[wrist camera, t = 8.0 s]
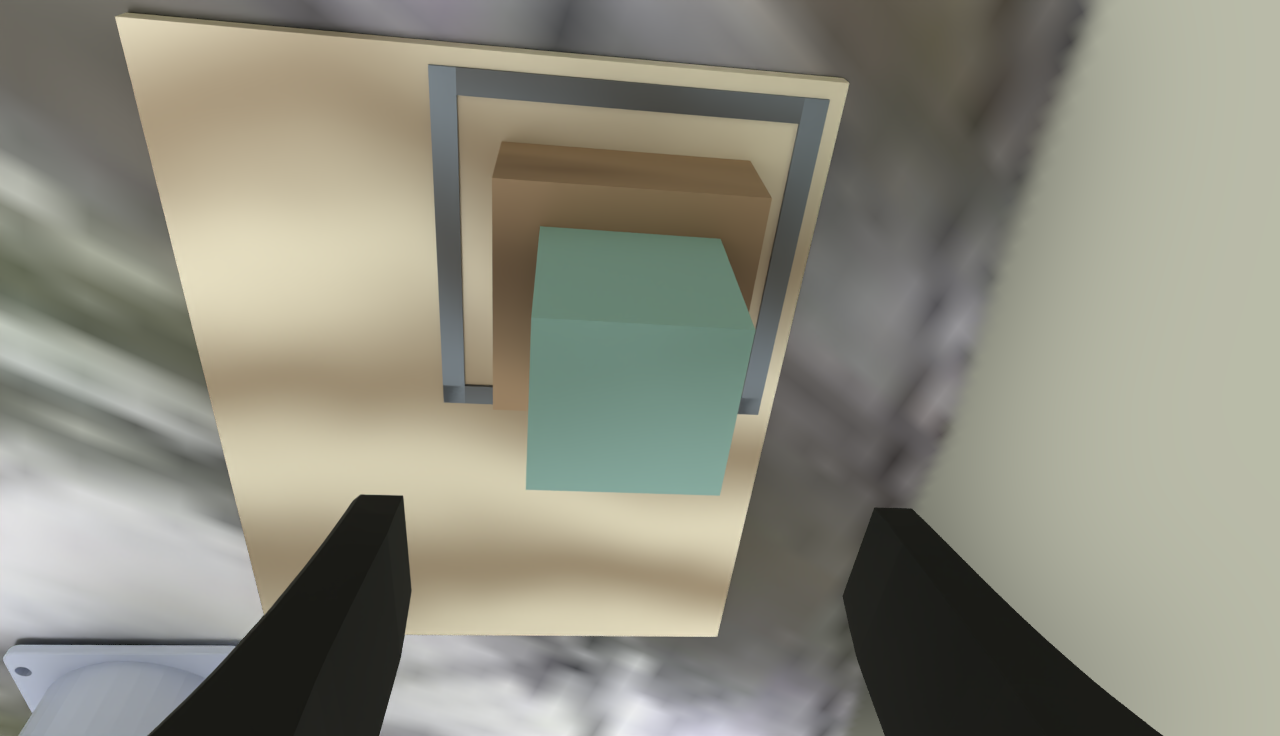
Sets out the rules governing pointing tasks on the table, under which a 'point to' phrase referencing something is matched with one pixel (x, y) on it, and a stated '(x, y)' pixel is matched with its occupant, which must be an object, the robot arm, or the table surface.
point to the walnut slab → (606, 224)
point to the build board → (442, 302)
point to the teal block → (634, 363)
